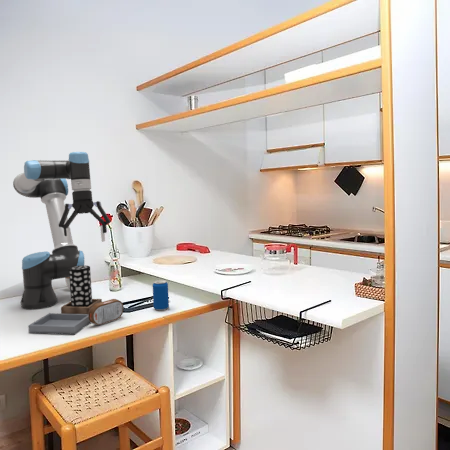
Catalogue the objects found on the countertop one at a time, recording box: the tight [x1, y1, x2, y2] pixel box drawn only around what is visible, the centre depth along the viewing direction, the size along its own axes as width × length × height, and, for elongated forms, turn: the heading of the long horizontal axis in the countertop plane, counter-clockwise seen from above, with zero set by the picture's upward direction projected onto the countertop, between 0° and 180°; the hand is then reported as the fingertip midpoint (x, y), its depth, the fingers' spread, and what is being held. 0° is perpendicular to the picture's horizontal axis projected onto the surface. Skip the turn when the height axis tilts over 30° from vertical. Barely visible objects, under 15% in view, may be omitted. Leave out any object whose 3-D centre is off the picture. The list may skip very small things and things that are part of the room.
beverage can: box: [152, 279, 170, 312], centre depth 182 cm, size 6×6×12 cm
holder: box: [60, 298, 103, 314], centre depth 177 cm, size 12×12×5 cm
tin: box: [88, 298, 124, 326], centre depth 167 cm, size 15×3×8 cm, turn 141°
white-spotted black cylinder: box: [69, 265, 93, 307], centre depth 176 cm, size 8×8×20 cm
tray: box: [27, 312, 92, 336], centre depth 163 cm, size 18×14×3 cm
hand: (86, 242), depth 173 cm, fingers open, 13 cm apart
